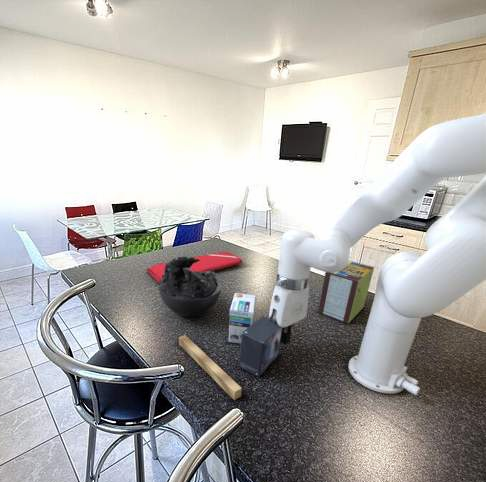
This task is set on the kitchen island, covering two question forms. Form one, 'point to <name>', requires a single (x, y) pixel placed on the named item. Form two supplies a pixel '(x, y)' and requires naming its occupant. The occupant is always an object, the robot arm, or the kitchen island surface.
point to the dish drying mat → (201, 264)
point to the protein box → (345, 291)
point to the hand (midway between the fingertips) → (283, 341)
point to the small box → (259, 345)
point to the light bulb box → (241, 315)
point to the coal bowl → (188, 288)
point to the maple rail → (211, 368)
